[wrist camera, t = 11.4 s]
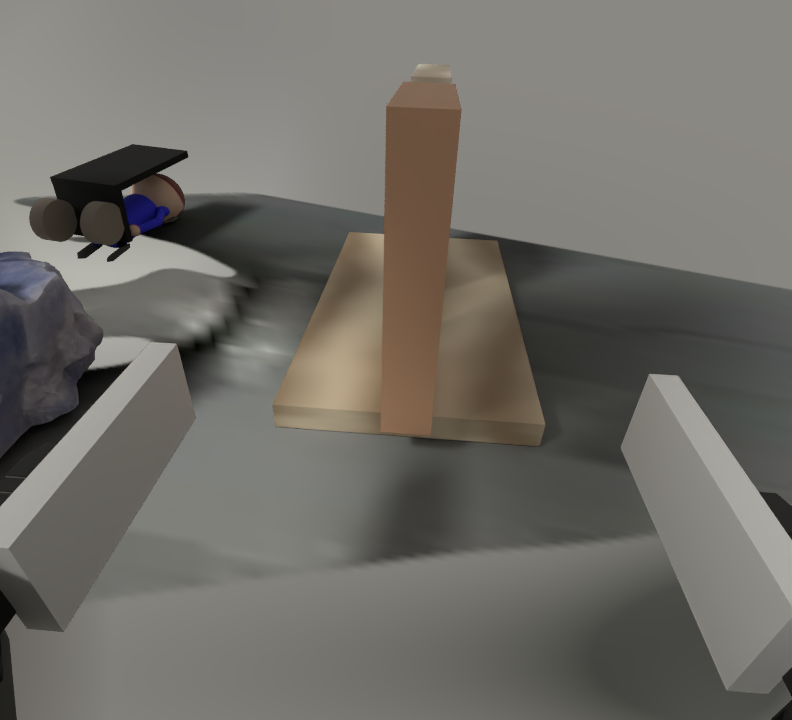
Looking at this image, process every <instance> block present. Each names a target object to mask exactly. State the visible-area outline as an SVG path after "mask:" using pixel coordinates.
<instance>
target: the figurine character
mask: <svg viewBox="0 0 792 720" xmlns="http://www.w3.org/2000/svg"><path fill="white" fill-rule="evenodd" d="M186 158H188V154H187V151H183V150H175V149H166V148H158V147H150V146H142V145H134V144H132V145H130V146H128V147H125V148H122V149H120V150H117V151H115V152H112V153H110V154H107V155H105V156H102V157H100V158H97V159H95V160H92V161H89V162H87V163H85V164H82V165H79V166H77V167H75V168H72V169H69V170H67V171H64V172H62V173H59V174H57V175H54V176H52V177H50V178H51V181H52V184H53V186H54V190H55V193H56V196H57V199H52V198H42V199H40V200H38V201H37V202H36V203H35V204H34V205H33V206H32V208H31V211H30V217H29V219H30V225H31V228H32V230H33V231H34V233H35V234H36V235H37V236H39V237H40V238H42V239H45V240H52V241H59V242H62V241H66V240H68V239H69V238H71V237H72V236H73V234H74V235H81V236H84V237H85V238H86V239H87V240H88V241H90V242H92V243H91V244H89V245H88V246H86V247H85V248H84V249H82V250H81V251H80V252H78V253H77V254H78V258H87V257H88V256H89V255H91V254H92V253H93V252H95V251H96V250H97V249H99V248H100V247H101V246H102V245H107V246H110V247H114V248H119V249H118V250H117V251H115V252H114V253H112V254H111V255H110V256H109V257H108V258H107V262H109V261H114V260H115V259H116V258H117V257H119V256H120V255H121V254H122V253H124V252H125V251H126V250H127V249H129V248H130V244H127V243H129V242H131V241H132V240H133V238H134V237H136V236H138V235H139V234H142V233H144V232H147V231H149V230H151V229H154V228H156V227H158V226H161V225H162V224H166V223H170V222H172V221H174V220H176V219H177V218H178V217H179V216H180V215H181V214H182V212H183V210H184V206H185V199H184V194H183V192H182V190H181V188H180V187H179V185H178V184H177V183H176V182H175V181H174V180H172V179H170V178H169V177H167V176H165V175H162V174H157V173H158V172H160V171H162V170H163V169H166V168H168V167H170V166H172V165H174V164H176V163H178V162H179V161H182V160H184V159H186ZM132 185H133V186H132ZM130 186H132V188H131V193H130V195H129V196H127V197H126V198H124V199H123V195H122V190H124V189H126V188H128V187H130Z"/></svg>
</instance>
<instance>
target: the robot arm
mask: <svg viewBox="0 0 792 720" xmlns="http://www.w3.org/2000/svg"><path fill="white" fill-rule="evenodd" d="M195 419H196V416H195V412H194V409H193V405H192V401H191V397H190V393H189V389H188V385H187V381H186V377H185V373H184V370H183V366H182V362H181V358H180V354H179V350H178V346H177V344H174V343H158V342H150V343H149V344H148V345H147V346H146V348H145V349H144V350H143V351H142V352H141V353H140V354H139V355H138V356H137V357H136V358H135V359H134V361H133V362H132V363H131V364H130V365H129V366H128V367H127V368H126V369H125V370H124V371H123V373H122V374H121V375H120V376H119V377H118V378H117V379H116V380H115V381H114V382H113V384H112V385H111V386H110V387H109V388H108V389H107V390H106V391H105V392H104V393H103V395H102V396H101V397H100V398H99V399H98V400H97V401H96V402H95V403H94V404H93V405H92V407H91V408H90V409H89V410H88V411H87V412H86V413H85V414H84V415H83V416H82V418H81V419H80V420H79V421H78V422H77V423H76V424H75V425H74V426H73V427H72V429H71V430H70V431H69V432H68V433H67V434H66V435H65V436H64V437H63V438H62V439H61V441H60V442H59V443H58V442H45V443H43V444H42V445H40V446H39V447H37V448H35V449H34V450H32V451H31V452H29V453H28V454H26V455H25V456H23V457H22V458H21V459H20V460H19V461H18V462H17V463H16V464H15V465H14V466H13V467H12V468H11V469H10V470H9V471H8V472H7V473H6V474H5V478H2V479H1V480H0V720H17V718H16V707H15V697H14V686H13V676H12V664H11V654H10V643H9V638H8V636H7V634H6V631H5V630H4V629H5V627H6V626H7V625H8V623H9V622H10V621H11V619H12V618H13V616H14V615H15V614H17V616H18V617H19V618H20V620H21V621H22V622H23V624H24V625H25V626H26V628H27V629H35V630H46V631H57V632H64V631H65V629H66V628H67V626H68V624H69V623H70V621H71V620H72V618H73V616H74V615H75V613H76V611H77V610H78V608H79V607H80V605H81V603H82V602H83V600H84V599H85V597H86V595H87V594H88V592H89V590H90V589H91V587H92V586H93V584H94V582H95V581H96V579H97V577H98V576H99V574H100V573H101V571H102V569H103V568H104V566H105V565H106V563H107V561H108V560H109V558H110V556H111V555H112V553H113V552H114V550H115V548H116V547H117V545H118V543H119V542H120V540H121V539H122V537H123V535H124V534H125V532H126V531H127V529H128V527H129V526H130V524H131V522H132V521H133V519H134V518H135V516H136V514H137V513H138V511H139V509H140V508H141V506H142V505H143V503H144V501H145V500H146V498H147V497H148V495H149V493H150V492H151V490H152V488H153V487H154V485H155V484H156V482H157V480H158V479H159V477H160V475H161V474H162V472H163V471H164V469H165V467H166V466H167V464H168V462H169V461H170V459H171V458H172V456H173V454H174V453H175V451H176V450H177V448H178V446H179V445H180V443H181V441H182V440H183V438H184V437H185V435H186V433H187V432H188V430H189V428H190V427H191V425H192V424H193V422H194V420H195ZM620 448H621V450H622V452H623V455H624V457H625V459H626V462H627V464H628V466H629V468H630V471H631V473H632V475H633V478H634V480H635V482H636V484H637V487H638V489H639V491H640V494H641V496H642V498H643V501H644V503H645V505H646V507H647V510H648V512H649V514H650V517H651V519H652V521H653V523H654V526H655V528H656V530H657V533H658V535H659V537H660V539H661V542H662V544H663V546H664V549H665V551H666V553H667V556H668V558H669V560H670V562H671V565H672V567H673V569H674V571H675V574H676V576H677V578H678V581H679V583H680V585H681V588H682V590H683V592H684V594H685V597H686V599H687V601H688V604H689V606H690V608H691V610H692V613H693V615H694V617H695V620H696V622H697V624H698V626H699V629H700V631H701V633H702V636H703V638H704V640H705V643H706V645H707V647H708V649H709V652H710V654H711V656H712V658H713V661H714V663H715V665H716V668H717V670H718V672H719V675H720V677H721V679H722V681H723V684H724V686H725V688H726V690H727V691H736V692H749V693H759V694H768V693H769V692H770V691H771V690H772V689H773V688H774V687H775V686H776V685H777V684H778V683H779V682H780V681H781V680H782V679H783V681H784V683H785V684H786V686H787V688H788V690H789V692H790V693H791V696H792V506H791V505H790V504H788V503H787V502H786V501H785V500H784V499H782V498H781V497H780V496H779V495H777V494H776V493H765V492H758V491H757V489H756V488H755V486H754V485H753V483H752V482H751V480H750V479H749V478H748V476H747V475H746V473H745V472H744V470H743V469H742V467H741V466H740V465H739V463H738V462H737V460H736V459H735V457H734V456H733V454H732V453H731V452H730V450H729V449H728V447H727V446H726V444H725V443H724V441H723V440H722V439H721V437H720V436H719V434H718V433H717V431H716V430H715V428H714V427H713V426H712V424H711V423H710V421H709V420H708V418H707V417H706V415H705V414H704V413H703V411H702V410H701V408H700V407H699V405H698V404H697V402H696V401H695V400H694V398H693V397H692V395H691V394H690V392H689V391H688V389H687V388H686V387H685V385H684V384H683V382H682V381H681V379H680V378H679V376H676V375H660V374H649V376H648V378H647V381H646V383H645V386H644V389H643V391H642V394H641V396H640V399H639V401H638V404H637V406H636V409H635V412H634V414H633V417H632V419H631V422H630V424H629V427H628V430H627V432H626V435H625V437H624V440H623V442H622V445H621V447H620ZM771 720H792V700H791V701H790V702H789V703H788V704H787V705H786V706H785V707H784V708H783V709H782V710H780V711H779V712H778V713H777V714H776V715H775V716H774V717H773V718H772V719H771Z"/></svg>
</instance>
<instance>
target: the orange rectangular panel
mask: <svg viewBox="0 0 792 720" xmlns="http://www.w3.org/2000/svg"><path fill="white" fill-rule="evenodd" d="M460 119H461V106H460V102H459V98H458V94H457V90H456V85H455V84H443V83H420V82H403V83H402V85H401V86H400V88H399V89H398V91H397V92H396V93H395V95H394V96H393V98H392V99H391V100H390V102H389V103H388V105H387V107H386V158H385V213H384V267H383V322H382V376H381V431H380V432H390V433H403V434H417V435H430V436H431V425H432V414H433V404H434V393H435V383H436V372H437V362H438V351H439V341H440V330H441V320H442V309H443V298H444V288H445V277H446V267H447V256H448V246H449V235H450V224H451V214H452V204H453V193H454V182H455V172H456V161H457V151H458V140H459V130H460Z"/></svg>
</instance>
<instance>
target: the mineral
mask: <svg viewBox="0 0 792 720" xmlns="http://www.w3.org/2000/svg"><path fill="white" fill-rule="evenodd" d="M102 334H103V331H102V329H101V328H100V327H99V326H98V325H97V324H96V323H95V322H94V321H93V320H92V319H91V318H90V317H89V316H88V315H87V313H86V312H85V311H84V309H83V307H82V304H81V302H80V301H79V300H78V299H77V298H76V297H75V296H74V294H73V293H72V292H71V291H70V289H69V287H68V285H67V284H66V282H65V281H64V279H63V278H62V276H61V274H60V272H59V271H58V270H57V269H55V267H53V266H52V265H50V264H49V263H47V262H41V261H36V260H32V259H31V256H30V254H29V253H27V252H4V253H0V458H1V457H2V456H3V455H4V453H5V452H6V451H7V450H8V449H9V448H10V447H11V446H12V445H13V444H14V443H15V442H16V441H17V439H18V438H19V437H20V436H21V435H22V434H23V433H24V432H26V431H27V430H28V429H29V428H30V427H31V426H35V425H40V424H44V423H47V422H50V421H52V420H54V419H55V418H57V417H59V416H60V415H62V414H66V413H68V412H70V411H72V410H73V409H75V408H76V407H77V405H78V404H79V396H78V389H77V385H76V384H77V382H78V380H79V379H80V378H81V376H82V375H83V372H85V371H86V370H87V369H88V367H89V366H90V365H91V364H92V362H93V361H94V360H95V350H96V347H97V346H98V345H100V343H101V341H102V338H103V335H102Z"/></svg>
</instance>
